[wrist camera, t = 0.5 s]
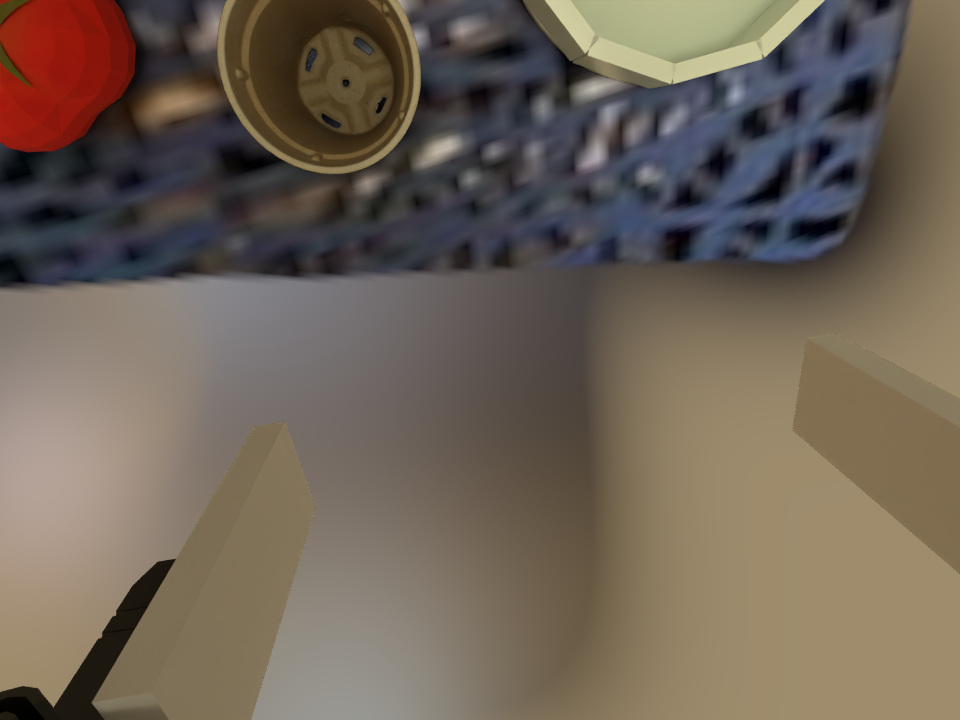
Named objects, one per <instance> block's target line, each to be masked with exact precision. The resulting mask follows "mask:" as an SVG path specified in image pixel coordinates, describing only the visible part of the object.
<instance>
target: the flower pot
mask: <svg viewBox="0 0 960 720" xmlns="http://www.w3.org/2000/svg"><path fill="white" fill-rule="evenodd" d="M356 38H360V39H362V40H363V41H365V42H366V43H367V44H368V45H369V46H370V47H371V48H372V49H373V52H372V53H371V54H370V55H369V54H367V53H366V52H364V51H363V50H361V49H360V48H359V47H357V46H355V45H354V40H355V39H356ZM312 49H314V50H316V52H317V57H316V59H315V60H314V62H313V64H312V67H311V70H310V71H307V70H306V68H307V60H308V56H309V53H310V51H311V50H312ZM217 52H218V64H219V69H220V73H221V78H222V82H223V86H224V89H225V92H226V94H227V97H228V99H229V101H230V103H231V105H232V107H233V109H234V111H235V113H236V114H237V116H238V117H239V119H240V121H241V123H242V124H243V126H244V127H245V128H246V129H247V130H248V131H249V132H250V134H251V135H252V136H253V137H254V138H255V139H256V140H257V141H258V142H259V143H260V144H261V145H262V146H263V147H265V148H266V149H267V150H269V151H270V152H271V153H273V154H274V155H276V156H277V157H278V158H280V159H282V160H284V161H286V162H288V163H290V164H292V165H294V166H297V167H299V168H302V169H305V170H308V171H313V172H317V173H325V174H343V173H349V172H354V171H357V170H361V169H363V168H366V167H368V166H370V165H372V164H374V163H376V162H378V161H379V160H380V159H382V158H383V157H385V156H386V155H387V154H388V153H389V152H390V151H392V149H393V148H394V147H395V146H396V145H397V144H398V143H399V141H400V140H401V139H402V137H403V136H404V134H405V133H406V131H407V129H408V127H409V125H410V123H411V121H412V119H413V116H414V113H415V110H416V107H417V103H418V99H419V93H420V84H421V70H420V59H419V53H418V48H417V43H416V40H415V36H414V33H413V31H412V28H411V25H410V23H409V21H408V18H407V16H406V14H405V12H404V11H403V9H402V7H401V6H400V4H399V2H398V1H397V0H227V1H226V3H225V5H224V8H223V11H222V15H221V18H220V24H219V29H218V36H217ZM345 79H347V80H349V86H348V87H344V85H343V80H345ZM382 97H385V98H386V101H385V104H384V106H383V108H382V110H381V112H379V113H376V110H377V108H378V104H377V102H378V103H379V102H380V101H381V100H382ZM323 113H324V114H325V115H327V116H328V117H330V118H332V119H333V120H335V121H337V122H339V123H340V127H339V128H336V127H332V126H330V125H329V124H327V123H326V122H325V121H324V120H323V119H322V114H323Z"/></svg>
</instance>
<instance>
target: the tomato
mask: <svg viewBox="0 0 960 720" xmlns="http://www.w3.org/2000/svg"><path fill="white" fill-rule="evenodd" d="M135 54H136V45H135V42H134V40H133V37H132V35H131V32H130V29H129V27H128V24H127V22H126V19H125V17H124V14H123V12H122V10H121V9H120V7H119V6H118V5H117V3H116V2H115V1H114V0H0V142H1V143H3V144H4V145H5V146H7V147H8V148H11V149H16V150H20V151H25V152H38V151H55V150H58V149H60V148H63V147H65V146H67V145H69V144H70V143H72V142H74V141H76V140H77V139H79V138H81V137H82V136H84V135H86V133H87V131H88V130H89V128H90V127H91V125H92V124H93V122H94V121H95V119H96V117H97V116H98V114H99V113H100V112H102V111H103V110H104V109H106V108H107V107H108V106H110V105H111V104H112V103H114V102H115V101H116V100H118V99H119V98H120V97H122V95H123V93H124V91H125V90H126V88H127V86H128V84H129V83H130V81H131V79H132V77H133V76H134V73H135Z"/></svg>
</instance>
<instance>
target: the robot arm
mask: <svg viewBox="0 0 960 720" xmlns="http://www.w3.org/2000/svg"><path fill="white" fill-rule="evenodd" d="M793 431H794V432H795V433H796V434H798V435H799V436H800V437H801V438H802V439H803V440H805V441H806V442H807V443H808V444H809V445H810V446H812V447H813V448H814V449H815V450H816V451H817V452H819V453H820V454H821V455H822V456H823V457H825V458H826V459H827V460H828V461H829V462H830V463H831V464H832V465H834V466H835V467H836V468H837V469H838V470H840V471H841V472H842V473H843V474H844V475H845V476H846V477H848V478H849V479H850V480H851V481H852V482H853V483H855V484H856V485H857V486H858V487H859V488H860V489H862V490H863V491H864V492H865V493H866V494H867V495H869V496H870V497H871V498H872V499H873V500H874V501H875V502H877V503H878V504H879V505H880V506H881V507H882V508H884V509H885V510H886V511H887V512H888V513H890V514H891V515H892V516H893V517H894V518H895V519H896V520H898V521H899V522H900V523H901V524H902V525H903V526H905V527H906V528H907V529H908V530H909V531H910V532H912V533H913V534H914V535H915V536H916V537H917V538H919V539H920V540H921V541H922V542H923V543H924V544H926V545H927V546H928V547H929V548H930V549H931V550H932V551H934V552H935V553H936V554H937V555H938V556H940V557H941V558H942V559H943V560H944V561H945V562H947V563H948V564H949V565H950V566H951V567H952V568H953V569H955V570H956V571H957V572H958V573H959V574H960V398H958V397H956V396H954V395H952V394H950V393H949V392H947V391H945V390H943V389H941V388H939V387H937V386H935V385H933V384H932V383H930V382H928V381H926V380H924V379H922V378H920V377H918V376H916V375H914V374H912V373H911V372H909V371H907V370H905V369H903V368H901V367H899V366H897V365H895V364H894V363H892V362H890V361H888V360H886V359H884V358H882V357H880V356H878V355H876V354H875V353H873V352H871V351H869V350H867V349H865V348H863V347H861V346H859V345H857V344H855V343H853V342H852V341H850V340H848V339H846V338H844V337H842V336H840V335H838V334H837V333H835V334H829V335H823V336H817V337H811V338H807V339H806V344H805V351H804V358H803V364H802V371H801V377H800V385H799V391H798V397H797V404H796V411H795V418H794V424H793ZM314 511H315V505H314V502H313V499H312V496H311V493H310V491H309V488H308V485H307V482H306V479H305V476H304V474H303V471H302V468H301V465H300V462H299V459H298V457H297V454H296V451H295V448H294V445H293V442H292V440H291V437H290V434H289V431H288V428H287V425H286V423H285V422H279V423H273V424H267V425H261V426H254V428H253V429H252V431H251V433H250V435H249V436H248V438H247V440H246V441H245V443H244V445H243V446H242V448H241V450H240V451H239V453H238V455H237V457H236V458H235V460H234V462H233V463H232V465H231V467H230V468H229V470H228V472H227V474H226V475H225V477H224V479H223V480H222V482H221V484H220V485H219V487H218V489H217V491H216V493H215V494H214V496H213V497H212V499H211V501H210V502H209V504H208V506H207V508H206V509H205V511H204V513H203V514H202V516H201V518H200V519H199V521H198V523H197V525H196V526H195V528H194V530H193V531H192V533H191V535H190V536H189V538H188V540H187V542H186V543H185V545H184V547H183V548H182V550H181V552H180V553H179V555H178V557H177V559H172V560H166V561H159V562H157V563H156V564H155V565H154V566H153V567H152V568H151V569H150V570H149V571H148V572H147V573H145V574H144V575H143V576H142V577H141V578H140V579H139V580H138V581H137V582H136V583H135V584H134V585H133V586H132V587H131V589H130V591H129V592H128V594H127V595H126V597H125V598H124V600H123V601H122V603H121V604H120V606H119V607H118V609H117V611H116V616H113V617H112V618H111V620H110V622H109V623H108V625H107V626H106V628H105V629H104V631H103V633H102V638H99V639H98V640H97V641H96V643H95V644H94V646H93V648H92V649H91V651H90V652H89V654H88V655H87V657H86V659H85V660H84V662H83V663H82V665H81V666H80V668H79V669H78V671H77V673H76V674H75V675H74V677H73V678H72V680H71V682H70V683H69V685H68V686H67V688H66V689H65V691H64V692H63V694H62V695H61V697H60V698H59V700H58V702H57V703H56V705H55V706H54V708H53V706H52V705H51V704H50V703H49V702H48V700H47V699H46V698H45V697H44V695H43V694H42V693H41V692H40V690H39V689H38V688H32V687H25V686H22V687H17V688H14V689H10V690H6V691H2V692H0V720H251V718H252V715H253V711H254V708H255V705H256V701H257V698H258V695H259V692H260V688H261V685H262V682H263V679H264V675H265V672H266V669H267V665H268V662H269V659H270V656H271V652H272V649H273V646H274V643H275V639H276V636H277V632H278V629H279V626H280V623H281V620H282V616H283V613H284V610H285V606H286V603H287V600H288V597H289V593H290V590H291V587H292V584H293V580H294V577H295V574H296V570H297V567H298V564H299V561H300V557H301V554H302V551H303V547H304V544H305V541H306V537H307V534H308V531H309V528H310V525H311V521H312V518H313V515H314Z"/></svg>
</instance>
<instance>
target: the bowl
mask: <svg viewBox="0 0 960 720" xmlns="http://www.w3.org/2000/svg"><path fill="white" fill-rule="evenodd" d="M522 1H523V3H524V5H525V7H526V9H527V11H528V12H529V14H530V15H531V16H532V18H533V19H534V21H535V22H536V24H537V25H538V27H539V28H540V29H541V31H542V32H543V33H544V34H545V35H546V36H547V37H548V38H549V40H550V41H551V42H552V43H553V44H554V45H555V46H556V47H557V48H558V49H560V50H561V51H562V52H563V53H564V54H565V55H566V56H567V58H568V59H569V60H570V61H572V60H573V62H572V63H575V64H578V65H581V66H583V67H585V68H586V69H588V70H590V71H592V72H595V73H597V74H599V75H602V76H604V77H607V78H611V79H615V80H619V81H623V82H629V83H633V84H636V85H639V86H642V87H645V88H656V87H661V86H666V85H671V84H676V83H679V82H683V81H686V80H690V79H693V78H697V77H700V76H704V75H707V74H711V73H714V72H718V71H721V70H725V69H728V68H732V67H736V66H739V65H743V64H746V63H750V62H753V61H757V60H760V59H762V58H764V57H766V56H767V55H768V54H769V53H770V52H771V51H772V50H773V49H774V48H775V47H776V46H777V45H778V44H779V43H780V42H781V41H783V40H784V39H785V38H786V37H787V36H788V35H789V34H790V33H791V32H792V31H793V30H794V29H795V28H796V27H797V26H798V25H799V24H800V23H801V22H802V21H804V20H805V19H806V18H807V17H808V16H809V15H810V14H811V13H812V12H813V11H814V10H815V9H816V8H817V7H818V6H819V5H820V4H821V3H822V2H823V1H825V0H522Z"/></svg>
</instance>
